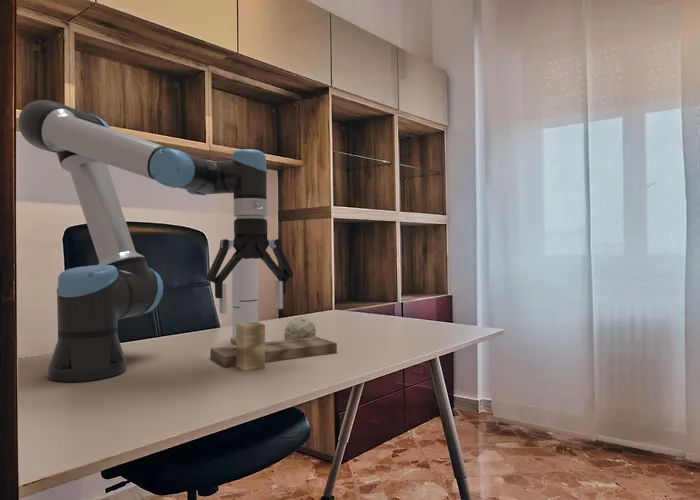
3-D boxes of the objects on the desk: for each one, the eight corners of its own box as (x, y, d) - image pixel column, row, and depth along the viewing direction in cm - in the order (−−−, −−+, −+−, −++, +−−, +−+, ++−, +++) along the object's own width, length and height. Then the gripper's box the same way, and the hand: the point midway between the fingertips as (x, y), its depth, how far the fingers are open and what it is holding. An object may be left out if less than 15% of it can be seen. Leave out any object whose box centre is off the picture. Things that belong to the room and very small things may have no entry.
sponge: (317, 356, 146) (320, 325, 152) (312, 342, 138) (316, 310, 144) (285, 355, 147) (290, 324, 153) (279, 341, 139) (284, 309, 145)
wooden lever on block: (244, 371, 112) (244, 326, 112) (223, 359, 124) (223, 318, 124) (264, 368, 115) (264, 324, 115) (242, 357, 127) (242, 317, 127)
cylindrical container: (255, 346, 140) (255, 256, 140) (229, 346, 140) (229, 256, 140) (260, 341, 147) (260, 256, 147) (235, 341, 147) (235, 256, 147)
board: (225, 367, 116) (225, 356, 116) (210, 358, 125) (210, 348, 125) (336, 352, 132) (336, 342, 132) (316, 345, 141) (316, 336, 141)
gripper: (200, 216, 106) (202, 317, 106) (306, 218, 119) (307, 307, 119) (191, 218, 112) (192, 313, 112) (292, 220, 125) (293, 305, 125)
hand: (251, 310), depth 116 cm, fingers open, 13 cm apart
